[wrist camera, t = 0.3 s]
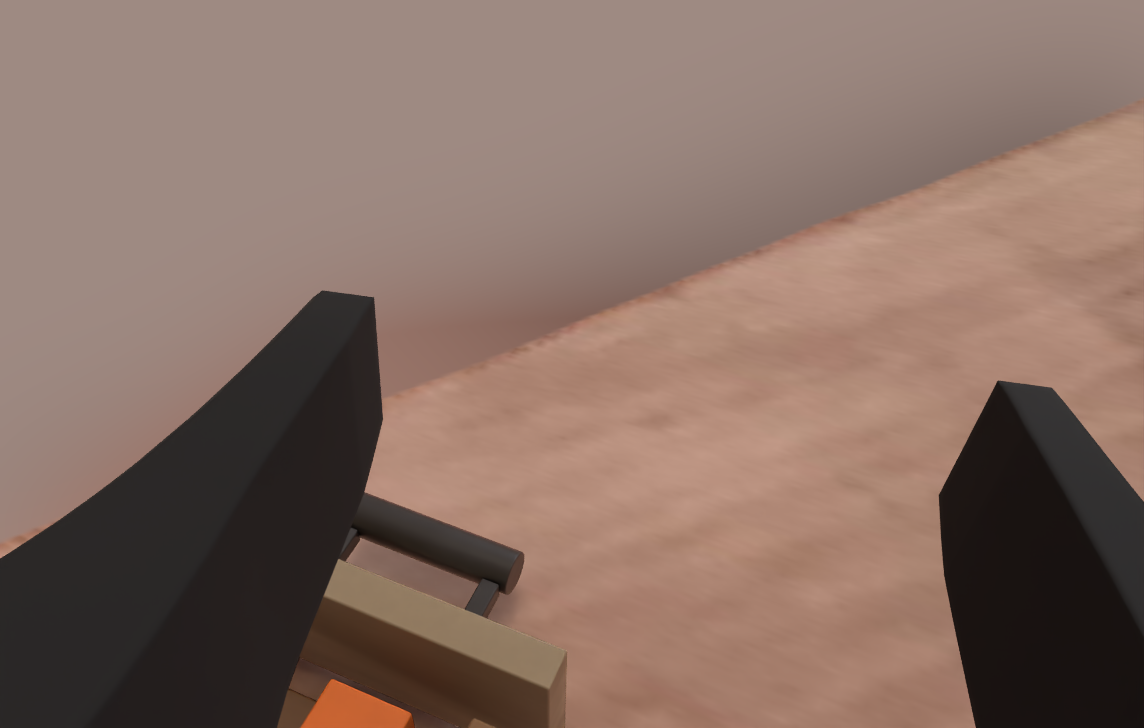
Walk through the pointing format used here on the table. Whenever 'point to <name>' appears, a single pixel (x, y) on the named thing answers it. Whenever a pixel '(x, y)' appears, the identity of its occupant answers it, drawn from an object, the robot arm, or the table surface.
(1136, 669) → the robot arm
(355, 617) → the drawer
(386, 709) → the block
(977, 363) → the table surface
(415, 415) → the table surface
